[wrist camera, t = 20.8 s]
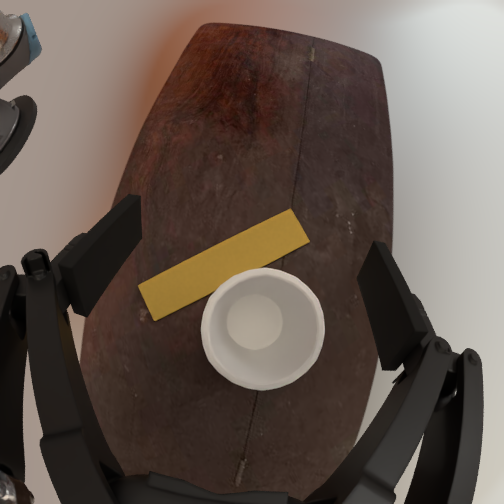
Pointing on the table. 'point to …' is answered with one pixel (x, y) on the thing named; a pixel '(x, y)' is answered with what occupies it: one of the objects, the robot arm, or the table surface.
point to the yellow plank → (222, 264)
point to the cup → (262, 329)
